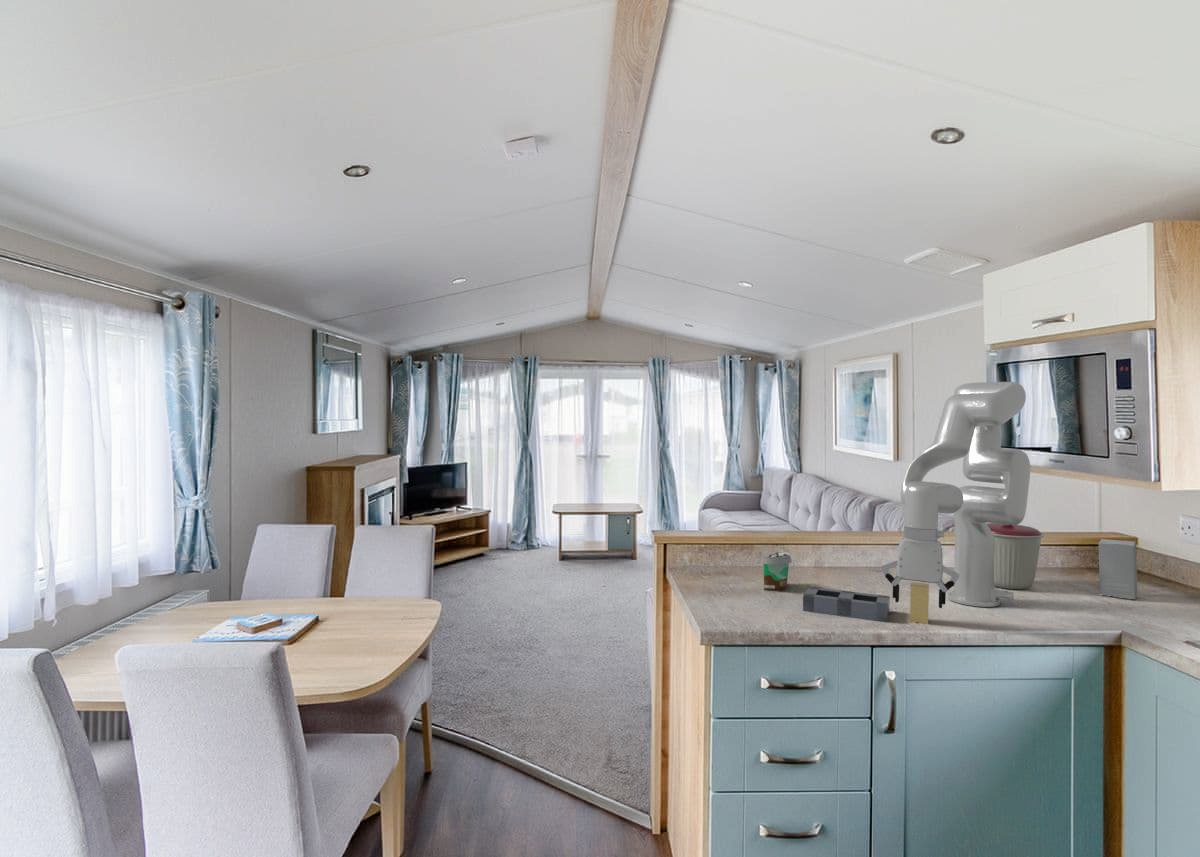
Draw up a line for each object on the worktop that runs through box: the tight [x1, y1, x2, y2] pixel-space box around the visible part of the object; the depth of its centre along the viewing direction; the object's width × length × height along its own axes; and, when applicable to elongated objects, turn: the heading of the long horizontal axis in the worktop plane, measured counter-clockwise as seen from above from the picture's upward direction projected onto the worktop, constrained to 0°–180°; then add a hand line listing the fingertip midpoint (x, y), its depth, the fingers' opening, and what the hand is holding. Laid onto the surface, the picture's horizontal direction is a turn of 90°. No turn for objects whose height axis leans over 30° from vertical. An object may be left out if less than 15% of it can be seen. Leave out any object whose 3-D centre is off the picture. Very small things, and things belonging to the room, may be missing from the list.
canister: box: [986, 523, 1045, 590], centre depth 199 cm, size 18×18×21 cm
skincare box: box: [1098, 538, 1138, 600], centre depth 188 cm, size 8×7×16 cm
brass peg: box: [909, 581, 930, 625], centre depth 163 cm, size 4×4×9 cm
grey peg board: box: [802, 586, 891, 623], centre depth 171 cm, size 20×10×4 cm, turn 63°
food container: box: [762, 549, 792, 592], centre depth 193 cm, size 12×6×10 cm, turn 148°
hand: (918, 604), depth 163 cm, fingers open, 9 cm apart
